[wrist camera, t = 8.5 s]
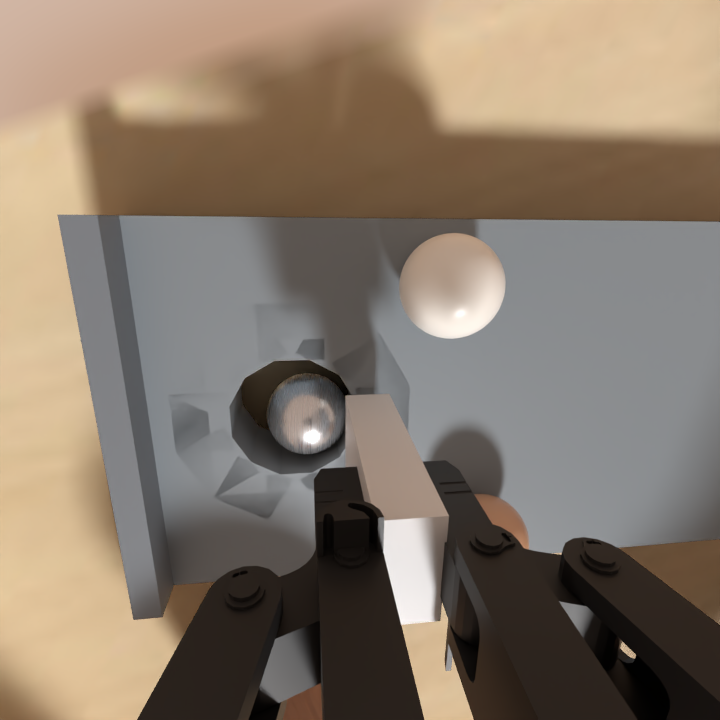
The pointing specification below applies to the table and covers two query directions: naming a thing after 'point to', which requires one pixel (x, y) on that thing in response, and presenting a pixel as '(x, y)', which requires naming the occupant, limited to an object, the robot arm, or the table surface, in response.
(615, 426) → the tray
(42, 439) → the table surface
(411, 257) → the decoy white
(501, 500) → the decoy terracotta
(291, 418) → the steel ball
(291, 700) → the coffee cup
